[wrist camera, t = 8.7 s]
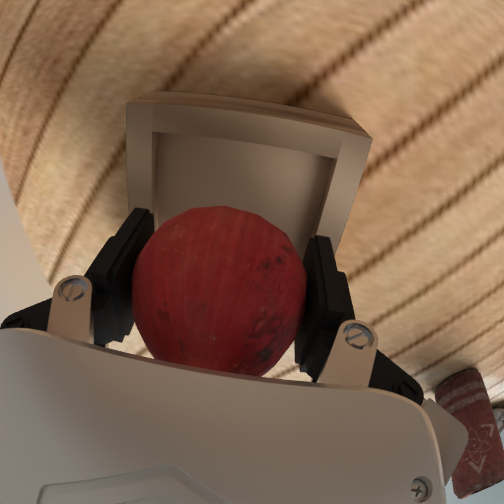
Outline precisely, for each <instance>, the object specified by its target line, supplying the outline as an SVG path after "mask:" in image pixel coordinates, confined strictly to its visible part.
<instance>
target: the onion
mask: <svg viewBox="0 0 504 504" xmlns="http://www.w3.org/2000/svg"><path fill="white" fill-rule="evenodd" d="M306 287H307V275H306V272H305V268H304V265H303V262H302V260H301V258H300V256H299V255H298V253H297V251H296V249H295V248H294V246H293V244H292V242H291V241H290V239H289V237H288V235H287V234H286V233H285V232H283V231H282V230H280V229H279V228H277V227H276V226H274V225H273V224H271V223H270V222H268V221H267V220H265V219H264V218H262V217H261V216H259V215H258V214H254V213H251V212H247V211H243V210H240V209H236V208H232V207H229V206H225V205H224V206H211V207H199V208H191V209H189V210H187V211H185V212H183V213H181V214H179V215H177V216H175V217H173V218H171V219H169V220H167V221H165V222H164V223H163V224H162V225H161V226H160V227H159V228H158V229H157V230H156V231H155V232H154V233H153V235H152V236H151V238H150V239H149V240H148V242H147V243H146V245H145V246H144V248H143V249H142V250H141V252H140V253H139V255H138V256H137V259H136V262H135V266H134V269H133V273H132V313H133V317H134V320H135V324H136V326H137V328H138V330H139V333H140V335H141V337H142V339H143V341H144V343H145V345H146V346H147V348H148V350H149V352H150V353H151V354H152V356H153V357H154V358H155V359H156V360H161V361H166V362H171V363H176V364H181V365H187V366H192V367H198V368H203V369H209V370H215V371H222V372H228V373H235V374H242V375H250V376H257V377H261V376H263V375H264V374H266V373H267V372H268V371H269V370H270V369H271V368H273V367H274V366H275V365H276V364H277V362H278V361H279V360H280V358H281V357H282V356H283V354H284V353H285V352H286V350H287V349H288V348H289V346H290V345H291V344H292V342H293V341H294V340H295V338H296V337H297V335H298V333H299V331H300V328H301V326H302V324H303V320H304V312H305V302H306Z"/></svg>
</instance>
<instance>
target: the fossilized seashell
mask: <svg viewBox="0 0 504 504" xmlns="http://www.w3.org/2000/svg"><path fill="white" fill-rule="evenodd" d="M493 413H494V416H495V419H496V423H497V426H498V430H499V434H500V433H501V432H502V431H503V429H504V409H503V408H496V409H493Z"/></svg>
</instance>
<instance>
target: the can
mask: <svg viewBox="0 0 504 504" xmlns="http://www.w3.org/2000/svg"><path fill="white" fill-rule="evenodd" d="M435 400H436V403H437V404H438V405H439V406H440V407H442V408H443V409H444V410H446V411H447V412H448V413H449V414H451V415H452V416H453V417H454V418H456V419H457V420H458V421H459V422H461V423H462V424H463V425H464V426H465V427H466V429H467V432H468V438H469V439H468V443H467V445H466V447H465V450H464V452H463V454H462V456H461V458H460V460H459V462H458V464H457V466H456V468H455V470H454V471H453V473H452V475H451V476H452V482H453V490H454V493H455V495H456V496H457V497H458V499H463V498H465V497H468V496H469V495H471V494H474V493H477V492H479V491H482V490H484V489H486V488H488V487H491V486H493V485H495V484H497V483H499V482H501V481H503V480H504V450H503V446H502V441H501V437H500V434H499V430H498V426H497V423H496V419H495V416H494V413H493V409H492V406H491V403H490V400H489V397H488V394H487V391H486V388H485V385H484V382H483V379H482V376H481V374H480V373H479V372H478V371H476V370H474V369H468V370H464V371H461V372H458V373H456V374H454V375H452V376H450V377H448V378H447V379H445V380H444V381H443V382H442V383H441V384H440V385H439V386H438V387H437V389H436V392H435Z"/></svg>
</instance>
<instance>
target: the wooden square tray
mask: <svg viewBox="0 0 504 504" xmlns="http://www.w3.org/2000/svg"><path fill="white" fill-rule="evenodd" d="M372 140H373V139H372V138H371V137H370V136H369V134H368V133H367V132H366V131H365V130H364V129H363V128H362V127H361V126H360V125H359V124H358V123H357V122H356V121H355V120H352V119H348V118H344V117H340V116H336V115H331V114H327V113H323V112H318V111H313V110H309V109H304V108H299V107H294V106H288V105H283V104H277V103H271V102H265V101H258V100H252V99H245V98H237V97H229V96H220V95H211V94H200V93H188V92H173V91H152V92H149V93H147V94H145V95H143V96H140V97H138V98H136V99H134V100H132V101H130V102H127V103H126V163H127V189H128V206H129V215H130V213H131V212H132V211H133V209H134V208H135V207H137V208H145V209H149V210H150V213H153V214H154V231H156V230H157V229H158V228H159V227H160V226H161V225H162V224H163V223H164V222H165V221H167V220H169V219H171V218H173V217H175V216H177V215H179V214H181V213H183V212H185V211H187V210H189V209H191V208H199V207H211V206H224V205H225V206H229V207H232V208H236V209H240V210H243V211H247V212H251V213H254V214H258V215H259V216H261V217H262V218H264V219H265V220H267V221H268V222H270V223H271V224H273V225H274V226H276V227H277V228H279V229H280V230H282V231H283V232H285V233H286V234H287V235H288V237H289V239H290V241H291V242H292V244H293V246H294V248H295V249H296V251H297V253H298V255H299V256H300V258H301V260H302V261H303V258H304V254H305V251H306V248H307V244H308V241H309V238H310V237H311V238H314V237H315V235H321V236H326V237H330V239H331V244H332V248H333V252H334V256H335V253H336V251H337V248H338V245H339V242H340V239H341V237H342V234H343V231H344V228H345V225H346V222H347V219H348V216H349V213H350V210H351V207H352V204H353V201H354V198H355V195H356V192H357V189H358V186H359V183H360V180H361V176H362V173H363V170H364V167H365V163H366V160H367V157H368V153H369V150H370V147H371V143H372Z"/></svg>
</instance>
